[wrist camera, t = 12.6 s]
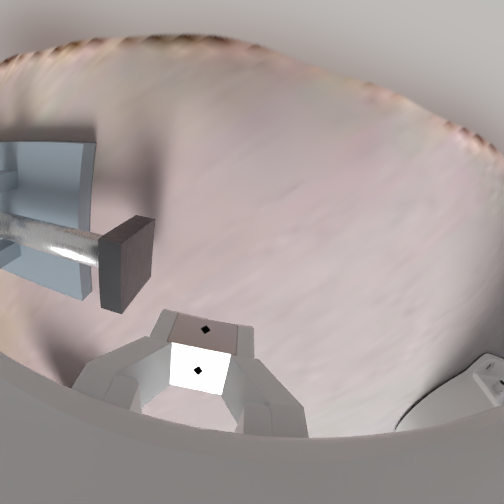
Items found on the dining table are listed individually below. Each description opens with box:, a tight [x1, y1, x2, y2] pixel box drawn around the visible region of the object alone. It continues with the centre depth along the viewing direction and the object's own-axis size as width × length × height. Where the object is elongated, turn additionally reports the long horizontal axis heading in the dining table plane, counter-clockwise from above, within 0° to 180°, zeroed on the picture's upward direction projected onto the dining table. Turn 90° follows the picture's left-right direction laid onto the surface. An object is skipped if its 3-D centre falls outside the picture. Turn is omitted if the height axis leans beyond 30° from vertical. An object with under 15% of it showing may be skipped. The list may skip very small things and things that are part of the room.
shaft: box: [0, 210, 155, 314], centre depth 13 cm, size 14×4×4 cm, turn 78°
